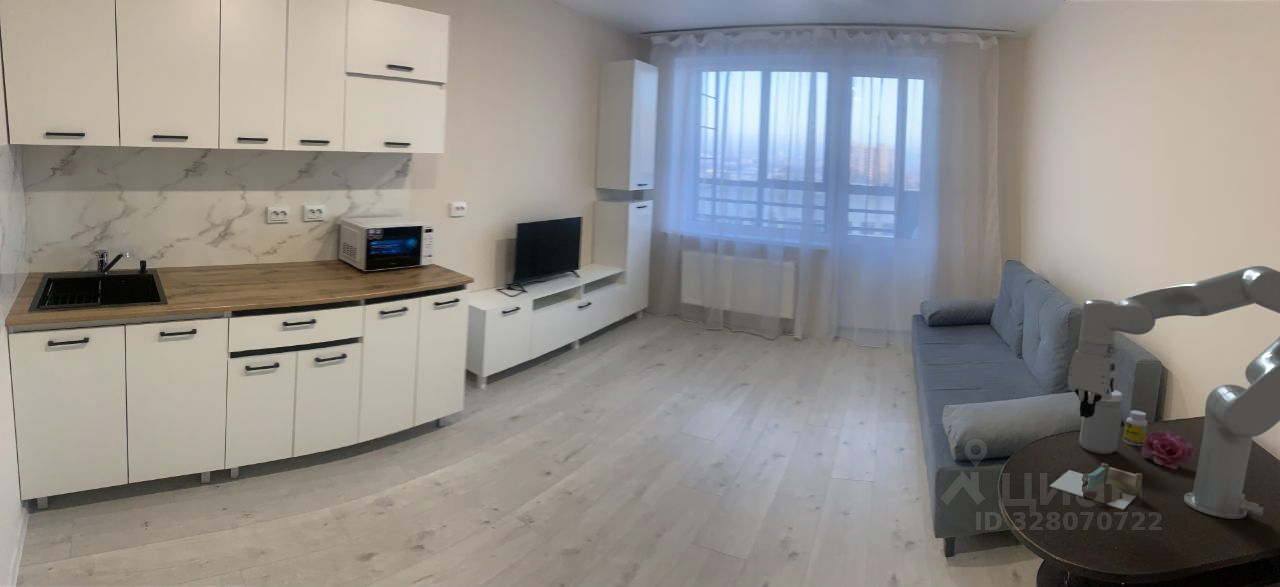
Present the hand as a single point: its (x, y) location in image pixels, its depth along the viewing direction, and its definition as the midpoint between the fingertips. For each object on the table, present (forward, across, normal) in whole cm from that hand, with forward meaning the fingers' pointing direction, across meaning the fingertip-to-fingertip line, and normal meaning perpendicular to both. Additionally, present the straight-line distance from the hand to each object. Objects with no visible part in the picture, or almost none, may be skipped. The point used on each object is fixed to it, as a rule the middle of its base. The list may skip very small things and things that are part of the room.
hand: (1086, 416), depth 197 cm
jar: (+20, +12, -31) cm, 38 cm away
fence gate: (+18, -4, 0) cm, 19 cm away
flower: (+20, -4, -38) cm, 43 cm away
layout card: (+19, -4, -1) cm, 20 cm away
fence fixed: (+19, -7, -6) cm, 22 cm away
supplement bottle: (+20, +9, -46) cm, 51 cm away
